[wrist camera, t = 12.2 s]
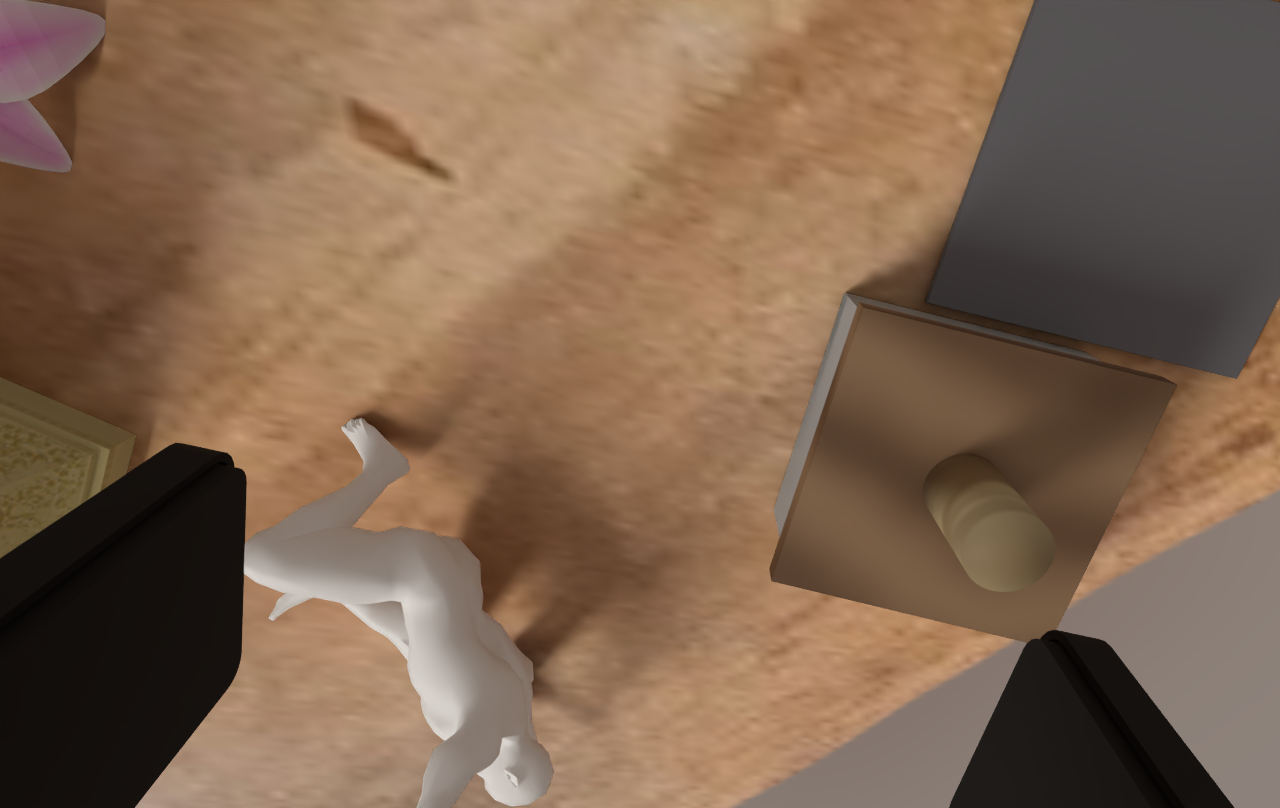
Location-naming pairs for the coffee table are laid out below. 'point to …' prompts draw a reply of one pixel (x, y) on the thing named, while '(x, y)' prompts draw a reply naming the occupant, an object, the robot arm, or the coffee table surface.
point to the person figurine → (416, 626)
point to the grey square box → (827, 375)
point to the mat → (1130, 181)
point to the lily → (38, 75)
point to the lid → (963, 474)
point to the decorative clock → (51, 461)
